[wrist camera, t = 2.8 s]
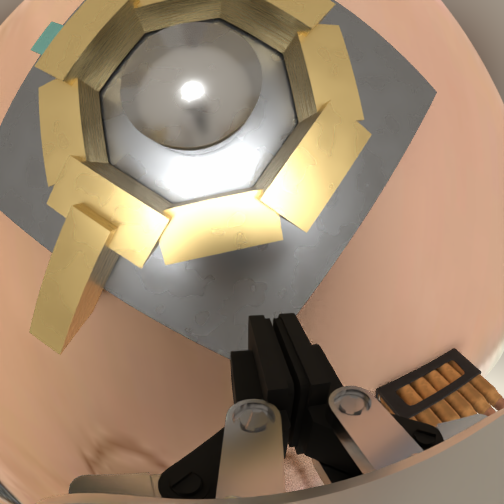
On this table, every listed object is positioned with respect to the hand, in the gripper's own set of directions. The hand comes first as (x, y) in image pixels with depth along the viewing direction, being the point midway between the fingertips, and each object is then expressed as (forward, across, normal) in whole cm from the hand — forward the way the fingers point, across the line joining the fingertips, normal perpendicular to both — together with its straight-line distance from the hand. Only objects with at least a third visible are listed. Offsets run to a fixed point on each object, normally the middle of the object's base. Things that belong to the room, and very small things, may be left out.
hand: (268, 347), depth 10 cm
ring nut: (+7, +5, -8) cm, 11 cm away
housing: (+9, +3, -10) cm, 14 cm away
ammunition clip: (+9, -18, +12) cm, 24 cm away
